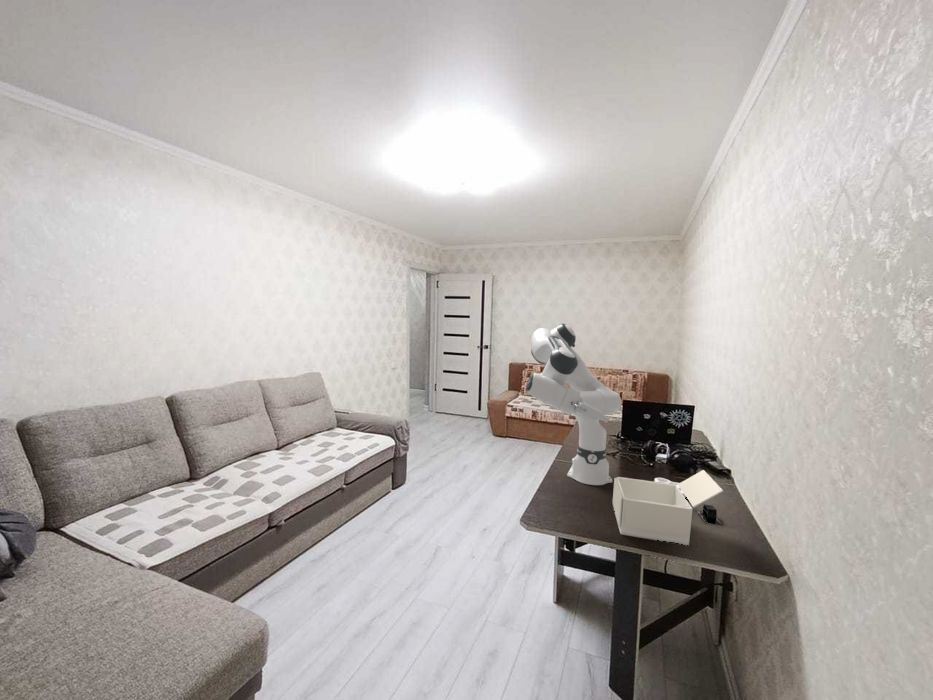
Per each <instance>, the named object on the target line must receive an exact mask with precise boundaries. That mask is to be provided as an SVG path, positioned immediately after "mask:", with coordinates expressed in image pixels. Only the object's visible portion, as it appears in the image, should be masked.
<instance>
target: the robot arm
mask: <svg viewBox="0 0 933 700" xmlns="http://www.w3.org/2000/svg"><path fill="white" fill-rule="evenodd" d="M576 340H577V339H576V334H575V331H574V330H573V328H572V327H570V326H569V325H568V324H566V323H559V324H558V325H556V326H555V327H554V328H552V329H548V328H545V327H540V328H537V329H536V330H535V331H534V332H533V333H532V335H531V341H530V347H531V350H530V354H531V355H532V358H533V359H534V361H536V362H537V363H538V364H540V365H545V366H544V368H543V369H542V372H540V373H537V372H532V373H531V374H530V376H529V378H527V383H526V386H525V390H526V392H527V393H528V394H529V395H530V396H531V397H533V399H534V398H535V399H536V400H538V401H540V403H541V402H542V403H544V404H546V405H549V406H552V407H553V408H554V409H555V410H558V411H560V412H562V413H564V414H565V415H567V416H570V415H571V414H572V415H573V416H574V418H576V420H577V423H578V428H579V431H578V433H579V435H578V436H579V437H578V444H577V448H576V450H577V451H576V453H577V454H576V455H575V456H574V457H572V459H571V463H572V465H571V467H570V469H569V470H568V472H567V473H566V474H567V477H568V478H571V479H574V480H576V482H579V483H581V484H585V485H591V486H604V485H606V484H609V483H610V484H612V483H613V479H612V477H611V476H610V475H609V474H610V473H609V471H610V470H609V469H610V462H609V461H608V460H607V448H606V444H607V431H606V429H605V427H604V426H602V425H601V423H600V421H602V422H603V423H608V422H609V420H610V419H609V417H608V416H610V415H612V414H616V413H618V412H619V411H620V410H621V409H622V404H623V403H622V398H621V396H620V394H619V393H618V392H616V391H614V390H612V389H611V388H608V387H607V386H605V384H603V383H602V382H601V381H600V380H599V379H598V378H597V377H596V376H595V375H594V374H593V373H592V372H591V370H590V368H589V367H588V366H587V365H586V363H585V361H584V360H583V359H582V357H581V356H580V355H579V354H578V352H577V351H576V350H575V349H573V348H575V347H576V344H575V343H576ZM566 384H568V386H566Z"/></svg>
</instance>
